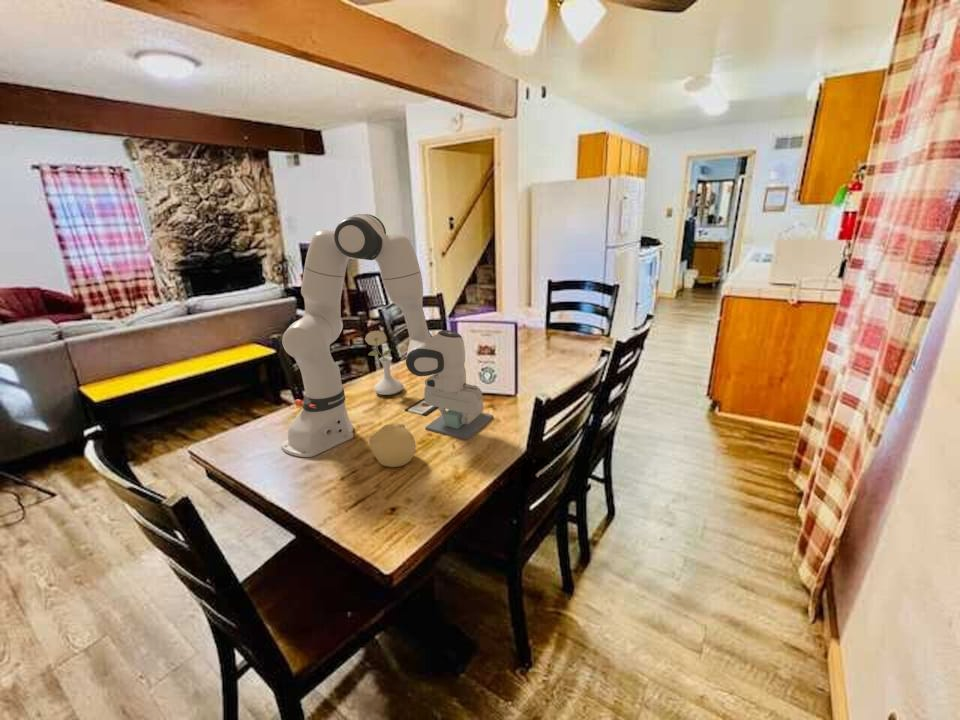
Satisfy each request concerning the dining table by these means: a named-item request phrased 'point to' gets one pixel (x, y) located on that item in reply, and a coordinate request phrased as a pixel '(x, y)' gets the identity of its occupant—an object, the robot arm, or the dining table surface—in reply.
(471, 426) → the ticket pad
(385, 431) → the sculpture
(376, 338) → the flower in vase
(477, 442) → the dining table surface
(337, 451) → the dining table surface
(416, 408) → the chocolate bar
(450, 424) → the stub
